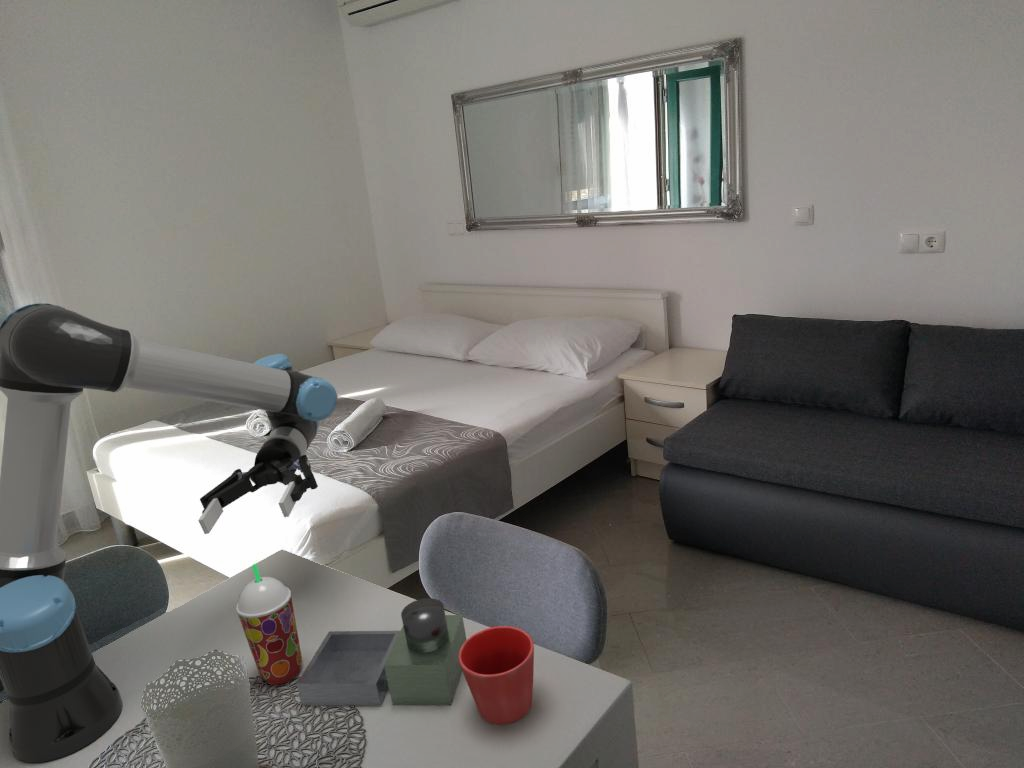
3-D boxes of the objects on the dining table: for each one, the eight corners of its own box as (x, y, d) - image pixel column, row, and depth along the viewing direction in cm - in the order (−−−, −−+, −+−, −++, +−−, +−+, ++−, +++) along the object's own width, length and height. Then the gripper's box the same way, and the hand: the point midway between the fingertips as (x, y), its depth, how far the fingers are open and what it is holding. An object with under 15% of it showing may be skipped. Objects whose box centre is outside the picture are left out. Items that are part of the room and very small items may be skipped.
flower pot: (453, 723, 107) (443, 665, 104) (491, 673, 116) (482, 619, 113) (520, 742, 102) (511, 682, 99) (554, 689, 111) (546, 632, 108)
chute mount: (302, 705, 115) (285, 638, 111) (333, 651, 126) (319, 589, 123) (450, 706, 110) (437, 636, 107) (469, 651, 122) (457, 586, 118)
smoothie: (276, 654, 128) (249, 549, 122) (318, 659, 125) (292, 552, 119) (245, 687, 120) (214, 577, 115) (289, 694, 118) (259, 581, 112)
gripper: (351, 458, 141) (325, 522, 121) (225, 485, 143) (180, 552, 124) (338, 423, 138) (309, 482, 118) (210, 451, 140) (161, 514, 121)
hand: (243, 518), depth 121 cm, fingers open, 13 cm apart
